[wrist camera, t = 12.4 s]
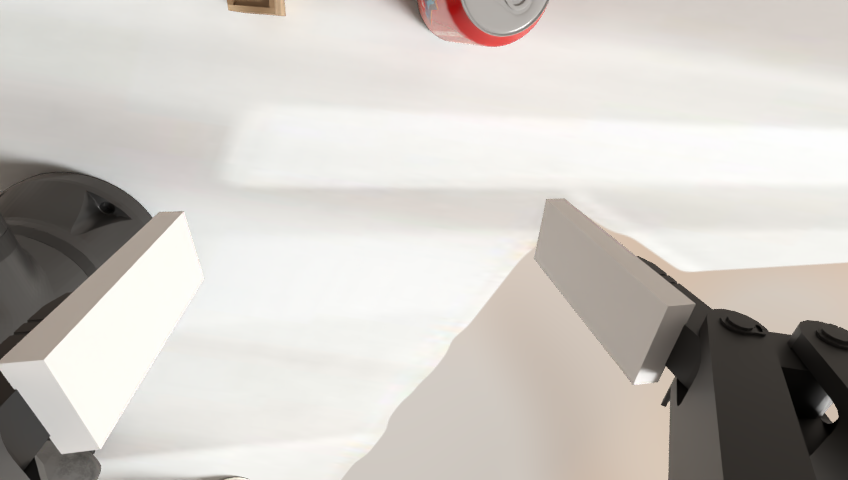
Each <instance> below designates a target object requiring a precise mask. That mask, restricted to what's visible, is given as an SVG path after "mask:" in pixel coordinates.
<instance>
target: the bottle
mask: <svg viewBox="0 0 848 480" xmlns="http://www.w3.org/2000/svg"><path fill="white" fill-rule="evenodd" d="M224 480H249V479H246V478H241V477H233V478H227V479H224Z"/></svg>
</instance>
